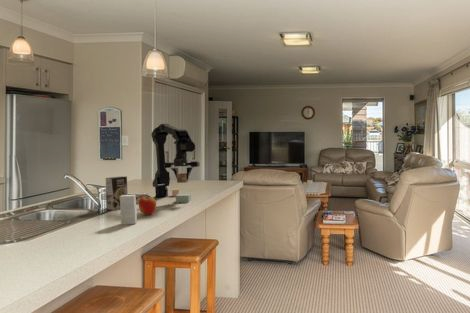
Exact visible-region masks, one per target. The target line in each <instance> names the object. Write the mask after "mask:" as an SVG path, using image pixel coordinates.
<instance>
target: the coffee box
mask: <svg viewBox="0 0 470 313" xmlns="http://www.w3.org/2000/svg"><path fill="white" fill-rule="evenodd" d="M105 194H106V196H105V197H106V201H105V202H106V210H112V211H116V210H120V196H122V195H129V194H128V176H111V177H110V176H109V177H105Z"/></svg>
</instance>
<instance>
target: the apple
mask: <svg viewBox="0 0 470 313" xmlns="http://www.w3.org/2000/svg"><path fill="white" fill-rule="evenodd" d="M138 209H139V211H140V213H142V214H143V215H153V214H154V213H155V212H156V209H157V200H156V199H155V197H153V196H148V193H146V196H142V197H140V198H139V201H138Z"/></svg>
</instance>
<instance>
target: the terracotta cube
mask: <svg viewBox="0 0 470 313" xmlns="http://www.w3.org/2000/svg"><path fill="white" fill-rule="evenodd" d="M177 194H180V188H173V189H171V195H172V196H173V197H176V195H177Z"/></svg>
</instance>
